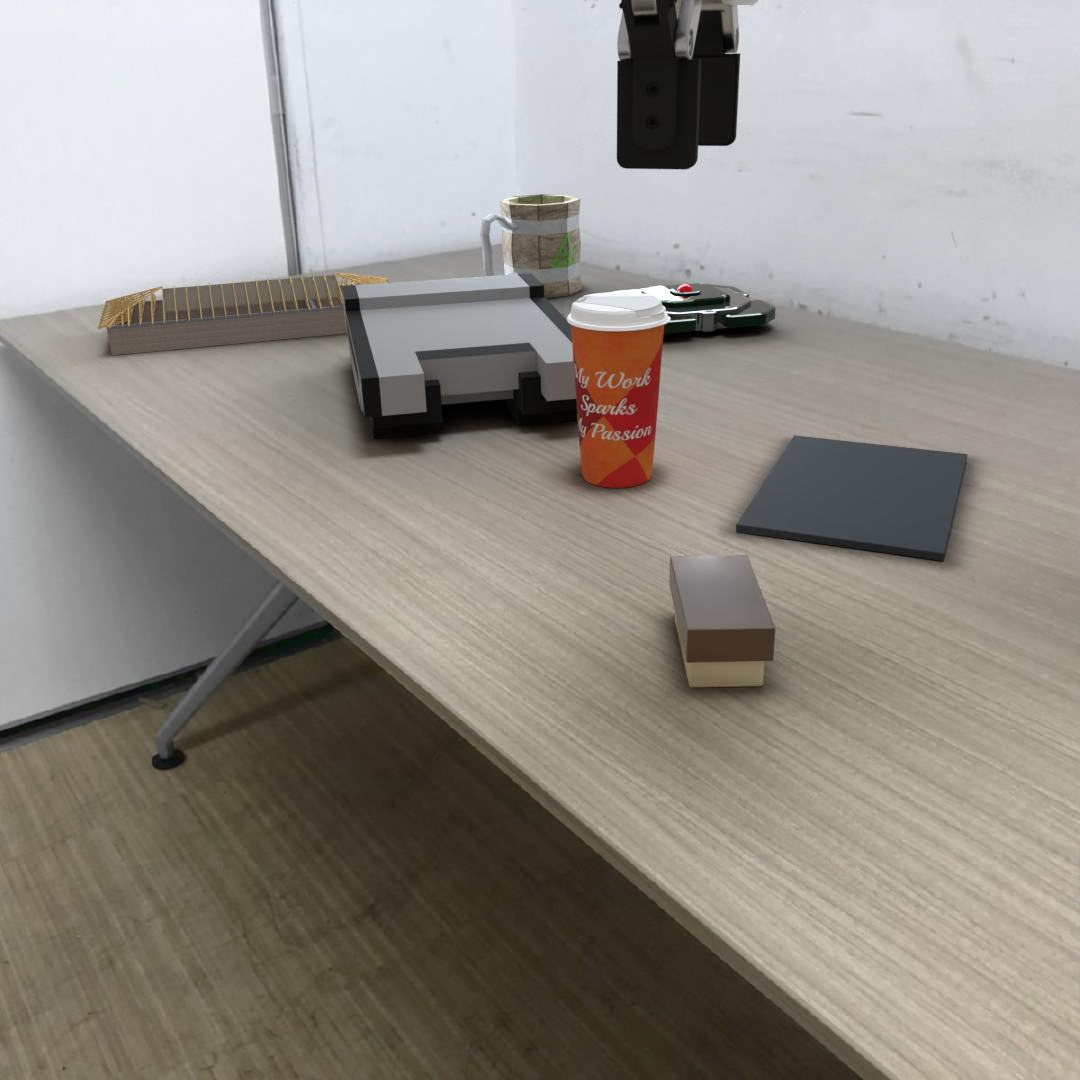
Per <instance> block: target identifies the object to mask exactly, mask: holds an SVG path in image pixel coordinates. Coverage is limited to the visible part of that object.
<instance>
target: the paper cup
mask: <svg viewBox="0 0 1080 1080" xmlns="http://www.w3.org/2000/svg"><path fill="white" fill-rule="evenodd" d="M665 311H666V308H665V307H664V306H662V302H661V299H659V298H658V297H656V296H653V295H649V294H644V293H634V292H613V291H608V292H607V291H606V292H597V293H596V292H595V293H589V294H585V295H583V296H582V297H579V298H578V299H576V300H575V301H573V303H571V309H570V313H568V315H567V317H566V319H567V322H568V323H569V324H571V330H572V347H573V363H574V376H575V388H576V402H577V416H578V420H577V427H578V440H579V453H580V455H579V456H580V465H581V475H582V478H583V480H584V481H586V482H587V483H589V484H591V485H594V486H598V487H603V488H611V489H623V488H632V487H636V486H637V487H638V486H640V485H644V484H645V483H647V482H648V481H649V480H650V479H651V478H652V474H653V466H654V456H655V446H656V445H655V444H656V432H657V422H658V411H659V409H658V408H659V399H660V398H659V397H660V396H659V395H660V383H661V370H662V369H661V368H662V358H663V357H662V356H663V346H664V335H665V334H664V324H667V323H668V322H669V321H670V319H671V317H669V316H668V315H667V313H666V312H665Z"/></svg>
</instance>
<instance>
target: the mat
mask: <svg viewBox="0 0 1080 1080" xmlns="http://www.w3.org/2000/svg"><path fill="white" fill-rule="evenodd" d="M967 461H968V454H967V453H961V452H953V451H944V450H943V451H942V450H935V449H924V448H916V447H915V448H914V447H907V446H898V445H897V446H896V445H888V444H877V443H869V442H859V441H851V440H850V441H849V440H841V439H832V438H821V437H815V436H814V437H812V436H805V435H803V436H802V435H793V436H792V437H791V439H790V441H789V443H788V444H787V445H786V447H785V448H784V450H783V452H782V453H781V455H780V457H779V458H778V459H777V461H776V463H775V464H774V466H773V467H772V469H771V470H770V472H769V473H768V475H767V476H766V478H764V481H763V482H762V484H761V486H759V489H758V490H757V492H756V493H755V494H754V496H753V498H752V499H751V501H750V502H749V504H748V506H747V507H746V509H745V510H744V511H743V513H742V515H740V518H739V519H738V521H737V522H736V524H735V533H736V532H737V533H744V534H751V535H758V536H764V537H772V538H779V539H786V540H792V541H798V542H799V541H800V542H807V543H814V544H819V545H820V544H821V545H828V546H833V547H834V546H835V547H841V548H847V549H848V548H849V549H855V550H856V549H857V550H862V551H868V552H869V551H870V552H877V553H883V554H890V555H898V556H905V557H912V558H917V559H918V558H920V559H925V560H933V561H939V562H940V561H941V562H944V561H945V558H946V553H947V548H948V544H949V539H950V535H951V531H952V525H953V522H954V518H955V513H956V508H957V504H958V500H959V496H960V490H961V486H962V483H963V478H964V474H965V469H966V465H967Z"/></svg>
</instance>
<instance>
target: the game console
mask: <svg viewBox="0 0 1080 1080" xmlns="http://www.w3.org/2000/svg"><path fill="white" fill-rule="evenodd" d="M341 287H342V297H343V307H344V317H345V327H346V332H347V333H346V336H347V341H348V350H349V358H350V364H351V368H352V369H351V370H352V373H353V378H354V383H355V388H356V389H355V390H356V392H357V397H358V403H359V408H360V412H362V413H363V417H364V418H368V419H369V424H370V429H371V433H372V438H373V439H374V440H375V439H389V438H396V437H397V438H398V437H408V436H420V435H430V434H431V435H432V434H440V433H441V423H443V422H444V419H443V406H442V405H451V404H453V405H454V404H464V403H475V402H486V401H499V400H502V401H503V402H504V403H505V405H506V408H507V409H508V410H509V412H510V415H512V417H513V419H514V420H515V422H516V424H517V426H527V425H537V424H540V425H541V424H550V423H559V422H570V421H571V422H572V421H578V416H577V402H576V388H575V376H574V363H573V347H572V330H571V324H569V323H568V322H567V317H565V316H564V315H563V314H562V313H561V312H560V311H559V310H558V309H557V308H556V307H555V306H554V305H553V304H552V302H550V301H549V300H548V298H545V297H544V285H543V284H542V283H541V282H540V281H539V280H538V279H537V278H536V277H535V276H534V275H532V274H531V273H526V274H511V275H505V274H499V275H494V276H485V275H484V276H482V275H481V276H473V277H472V276H471V277H470V276H469V277H456V278H455V277H453V278H441V279H440V278H438V279H424V280H412V281H411V280H409V281H397V282H395V281H394V282H390V283H387V282H386V283H379V284H365V285H350V286H341Z"/></svg>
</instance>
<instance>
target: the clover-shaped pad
mask: <svg viewBox="0 0 1080 1080" xmlns="http://www.w3.org/2000/svg"><path fill="white" fill-rule="evenodd" d="M612 292H634V293H644V294H649V295H653V296H656V297H658V298H659V299H661V302H662V306H664V307H665V308H666V311H665V312H666V313H667V315H668V316H669V317H671V319H670V321H669V322H668V323H667V324H664V334H663V335H665V334H676V333H686V332H695V331H700V332H704V333H705V332H714V331H717V329H734V328H735V329H736V328H745V327H756V326H763V325H767V324H769V323H770V322H771V321H773V320H775V319H776V308H777V307H776V306H775V305H773V304H771V303H769V302H767V301H765V300H763V299H751V298H750V293H747V292H746V291H744V290H742V289H740V288H739V287H736V286H732V285H724V284H723V285H722V284H712V283H698V282H696V283H695V282H694V283H685V284H684V283H683V284H682V283H681V284H672V285H669V284H663V285H657V286H648V287H644V288H636V289H623V290H613V291H612Z"/></svg>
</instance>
